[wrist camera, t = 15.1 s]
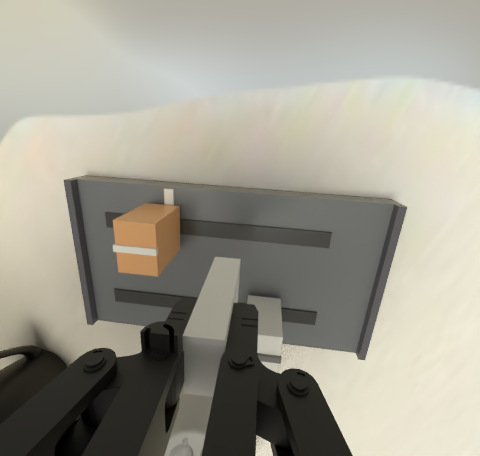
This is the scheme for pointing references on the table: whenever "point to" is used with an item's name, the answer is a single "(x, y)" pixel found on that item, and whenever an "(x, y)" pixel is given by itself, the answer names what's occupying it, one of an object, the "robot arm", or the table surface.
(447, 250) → the table surface
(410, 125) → the table surface
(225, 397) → the robot arm
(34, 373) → the mug
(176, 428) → the lumpy-topped squat cylinder
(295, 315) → the console
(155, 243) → the fader
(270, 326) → the fader
